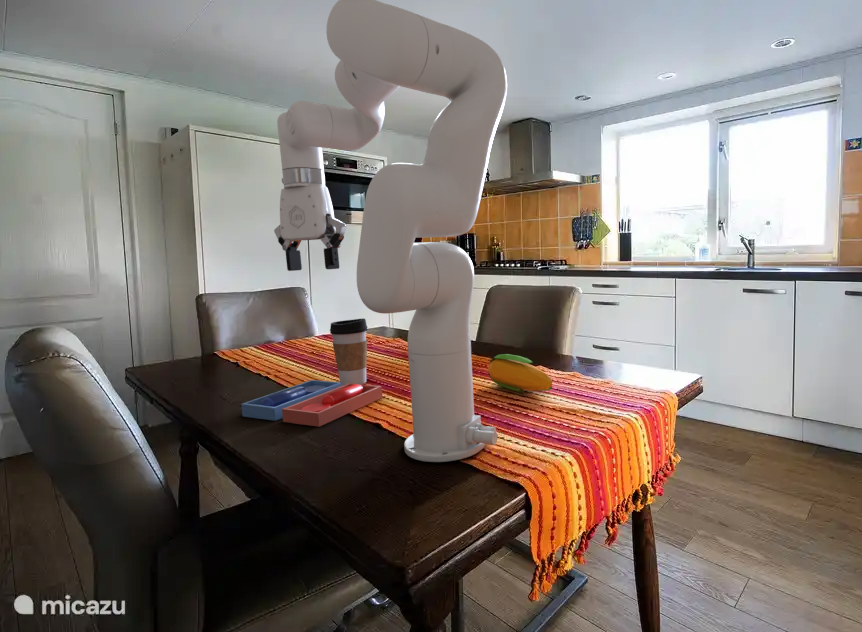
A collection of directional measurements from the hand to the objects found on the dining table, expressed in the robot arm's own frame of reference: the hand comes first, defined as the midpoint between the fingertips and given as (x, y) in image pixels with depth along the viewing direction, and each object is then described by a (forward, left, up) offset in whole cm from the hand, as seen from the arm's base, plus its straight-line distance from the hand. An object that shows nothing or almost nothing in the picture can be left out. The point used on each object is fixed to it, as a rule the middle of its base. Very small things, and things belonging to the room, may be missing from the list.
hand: (313, 269), depth 100 cm
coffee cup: (+6, -15, -28) cm, 32 cm away
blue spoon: (+7, +2, -27) cm, 28 cm away
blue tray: (+6, +2, -28) cm, 28 cm away
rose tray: (-4, +2, -28) cm, 28 cm away
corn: (-35, -20, -28) cm, 49 cm away
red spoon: (-4, +2, -27) cm, 27 cm away
